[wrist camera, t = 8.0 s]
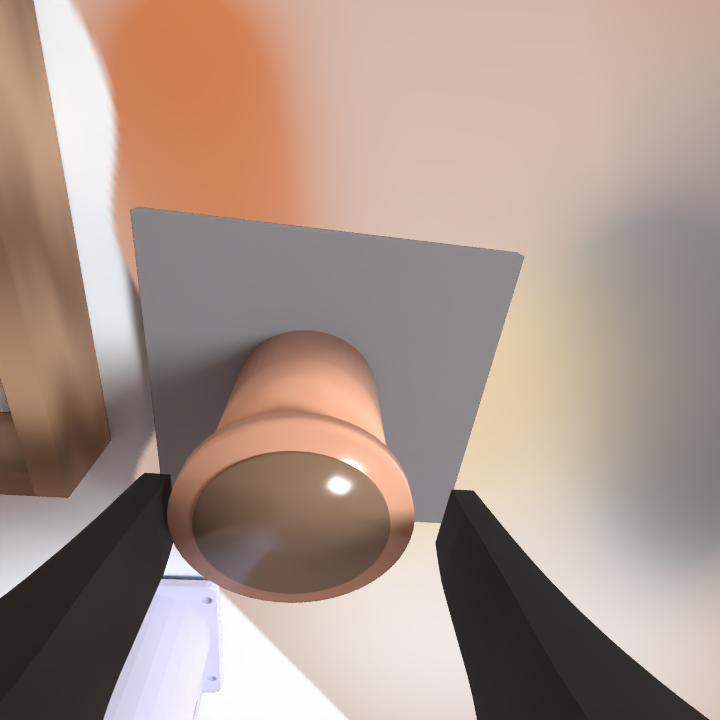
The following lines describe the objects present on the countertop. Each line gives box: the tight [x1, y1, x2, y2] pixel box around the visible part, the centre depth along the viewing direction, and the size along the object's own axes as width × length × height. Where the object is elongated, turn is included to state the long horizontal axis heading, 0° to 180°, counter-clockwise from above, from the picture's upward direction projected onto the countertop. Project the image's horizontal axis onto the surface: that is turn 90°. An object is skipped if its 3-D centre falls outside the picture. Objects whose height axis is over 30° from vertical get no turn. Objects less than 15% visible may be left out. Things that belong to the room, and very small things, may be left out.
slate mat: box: [130, 207, 524, 523], centre depth 16 cm, size 12×12×1 cm
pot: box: [167, 330, 415, 603], centre depth 13 cm, size 6×6×6 cm
